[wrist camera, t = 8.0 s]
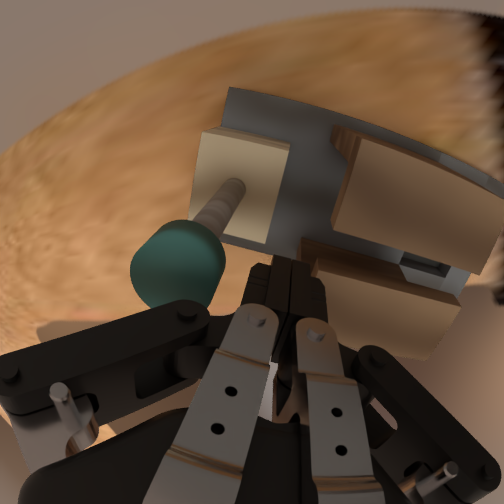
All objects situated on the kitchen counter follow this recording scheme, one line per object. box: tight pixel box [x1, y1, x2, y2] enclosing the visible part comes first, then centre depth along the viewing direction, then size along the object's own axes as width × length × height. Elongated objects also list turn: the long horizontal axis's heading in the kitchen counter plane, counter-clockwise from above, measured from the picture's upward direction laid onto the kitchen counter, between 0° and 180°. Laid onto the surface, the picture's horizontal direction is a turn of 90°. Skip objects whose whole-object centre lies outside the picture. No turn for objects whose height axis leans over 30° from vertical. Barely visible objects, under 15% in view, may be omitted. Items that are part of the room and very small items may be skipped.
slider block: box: [130, 126, 290, 308], centre depth 18 cm, size 7×6×17 cm
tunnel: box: [219, 87, 504, 361], centre depth 22 cm, size 14×28×14 cm, turn 77°
